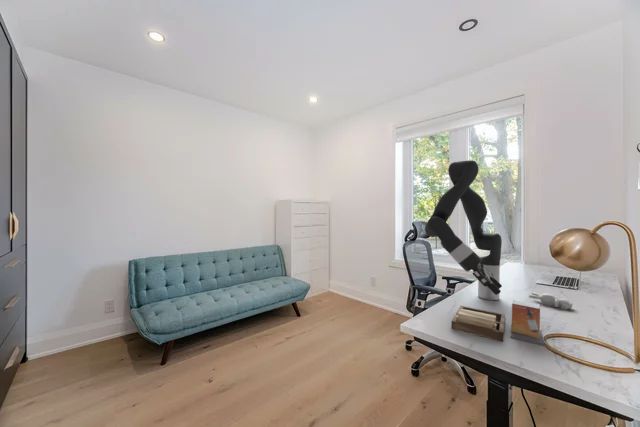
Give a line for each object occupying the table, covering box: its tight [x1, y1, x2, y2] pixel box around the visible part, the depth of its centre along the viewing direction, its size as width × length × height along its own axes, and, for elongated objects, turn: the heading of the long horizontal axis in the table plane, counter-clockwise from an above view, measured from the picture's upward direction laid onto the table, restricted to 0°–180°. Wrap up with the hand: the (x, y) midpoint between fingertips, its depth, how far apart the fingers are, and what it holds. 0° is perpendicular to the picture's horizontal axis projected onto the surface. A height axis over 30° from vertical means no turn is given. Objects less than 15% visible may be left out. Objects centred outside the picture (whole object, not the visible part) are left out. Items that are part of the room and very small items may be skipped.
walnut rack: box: [450, 305, 506, 342], centre depth 103 cm, size 20×16×3 cm
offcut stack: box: [456, 309, 497, 330], centre depth 99 cm, size 6×12×6 cm, turn 53°
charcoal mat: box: [510, 329, 545, 346], centre depth 95 cm, size 12×9×1 cm
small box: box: [510, 299, 541, 339], centre depth 95 cm, size 8×6×10 cm
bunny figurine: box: [528, 291, 574, 310], centre depth 125 cm, size 10×5×15 cm
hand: (499, 290), depth 100 cm, fingers open, 8 cm apart
